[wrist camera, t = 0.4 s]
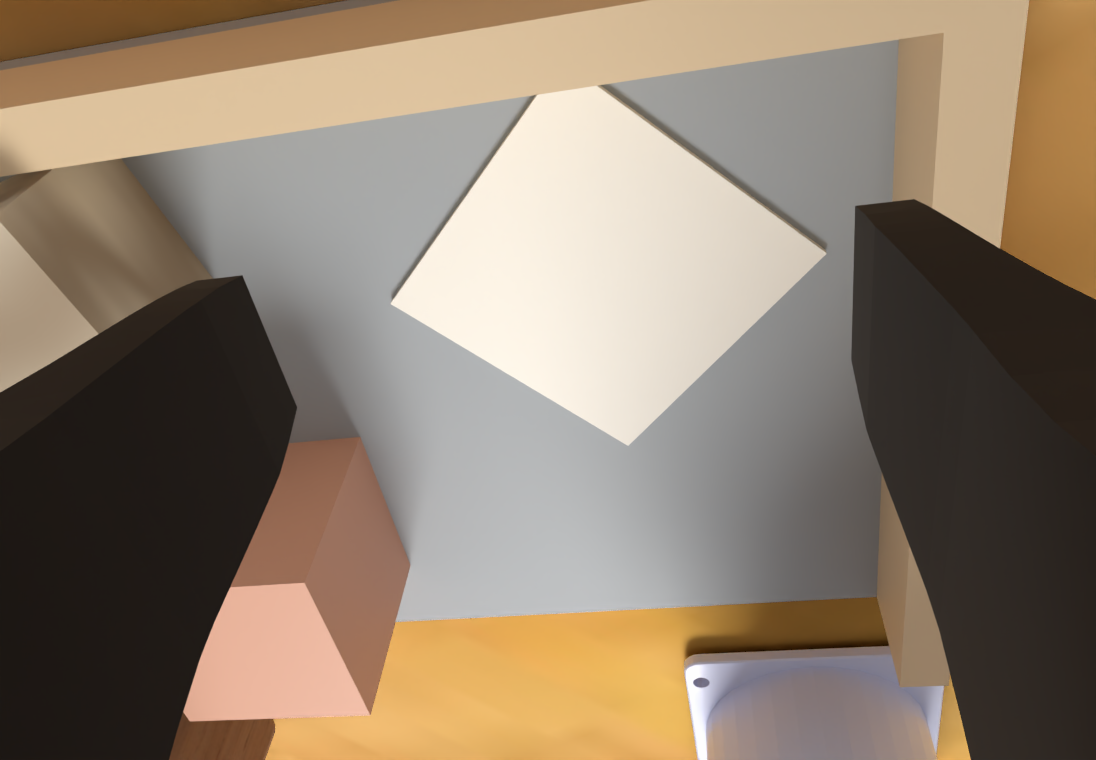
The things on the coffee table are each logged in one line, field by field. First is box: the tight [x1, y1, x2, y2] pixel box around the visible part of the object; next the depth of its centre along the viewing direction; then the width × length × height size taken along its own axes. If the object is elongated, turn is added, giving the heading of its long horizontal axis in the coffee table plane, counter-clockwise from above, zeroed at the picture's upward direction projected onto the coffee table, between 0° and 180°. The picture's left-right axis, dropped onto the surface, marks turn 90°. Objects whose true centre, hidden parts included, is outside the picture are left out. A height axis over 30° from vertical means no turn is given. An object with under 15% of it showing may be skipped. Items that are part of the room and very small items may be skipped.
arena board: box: [0, 0, 1029, 687], centre depth 22 cm, size 18×24×4 cm
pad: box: [391, 85, 827, 446], centre depth 21 cm, size 7×7×1 cm
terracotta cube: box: [183, 437, 411, 721], centre depth 24 cm, size 5×5×5 cm
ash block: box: [0, 158, 213, 392], centre depth 20 cm, size 4×4×4 cm
